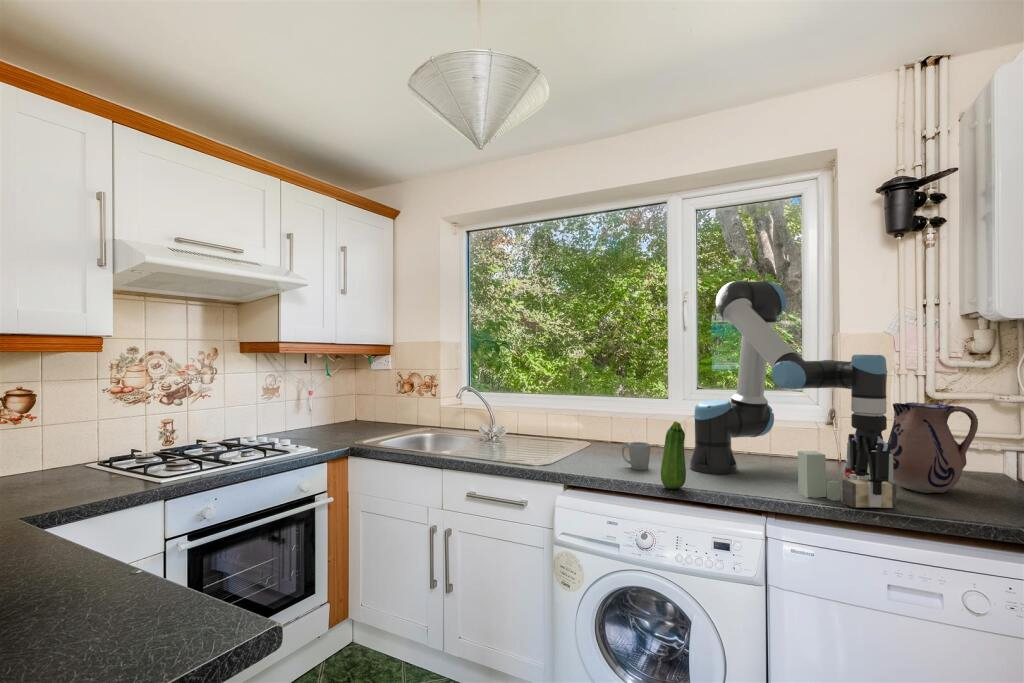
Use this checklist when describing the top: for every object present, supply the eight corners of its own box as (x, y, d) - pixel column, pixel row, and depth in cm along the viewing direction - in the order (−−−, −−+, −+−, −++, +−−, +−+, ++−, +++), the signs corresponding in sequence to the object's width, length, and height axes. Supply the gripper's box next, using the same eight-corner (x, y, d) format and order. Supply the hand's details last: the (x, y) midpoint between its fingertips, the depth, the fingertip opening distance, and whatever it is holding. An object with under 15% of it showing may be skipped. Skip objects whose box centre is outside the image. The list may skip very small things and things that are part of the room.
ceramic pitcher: (878, 479, 160) (876, 400, 161) (962, 486, 152) (960, 402, 153) (895, 494, 144) (893, 405, 145) (991, 502, 136) (989, 408, 137)
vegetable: (655, 486, 154) (655, 420, 154) (676, 484, 156) (675, 419, 156) (669, 492, 147) (668, 423, 147) (691, 490, 149) (690, 422, 149)
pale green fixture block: (876, 491, 147) (876, 450, 147) (898, 501, 138) (898, 456, 138) (850, 491, 147) (849, 449, 147) (870, 500, 138) (869, 456, 138)
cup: (647, 472, 172) (647, 446, 172) (619, 468, 177) (618, 444, 177) (653, 467, 178) (653, 443, 179) (625, 464, 184) (625, 440, 184)
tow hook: (876, 476, 166) (842, 472, 170) (878, 437, 166) (844, 434, 169) (882, 483, 158) (847, 478, 162) (884, 441, 158) (848, 438, 162)
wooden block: (851, 507, 131) (851, 483, 131) (842, 502, 135) (842, 479, 135) (896, 507, 130) (896, 484, 130) (885, 502, 134) (885, 480, 134)
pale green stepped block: (811, 500, 139) (810, 456, 139) (794, 490, 148) (794, 449, 148) (839, 500, 139) (839, 456, 139) (821, 491, 148) (820, 449, 148)
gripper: (907, 419, 124) (907, 515, 124) (862, 409, 141) (862, 493, 141) (875, 418, 124) (875, 514, 124) (834, 409, 141) (834, 493, 141)
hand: (868, 503), depth 132 cm, fingers closed on wooden block, 4 cm apart
